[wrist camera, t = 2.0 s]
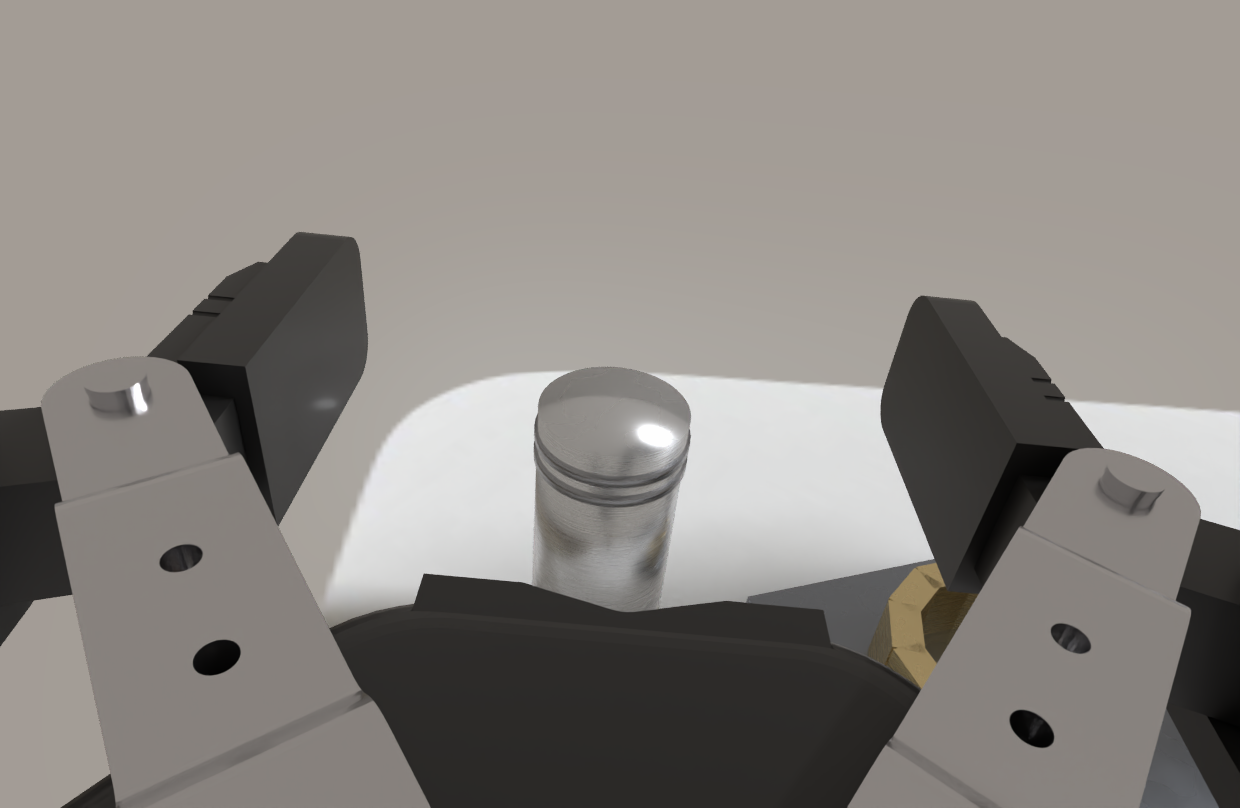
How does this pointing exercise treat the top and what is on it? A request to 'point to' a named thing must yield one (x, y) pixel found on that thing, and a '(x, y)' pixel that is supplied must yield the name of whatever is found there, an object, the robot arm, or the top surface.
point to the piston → (607, 485)
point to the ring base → (921, 631)
